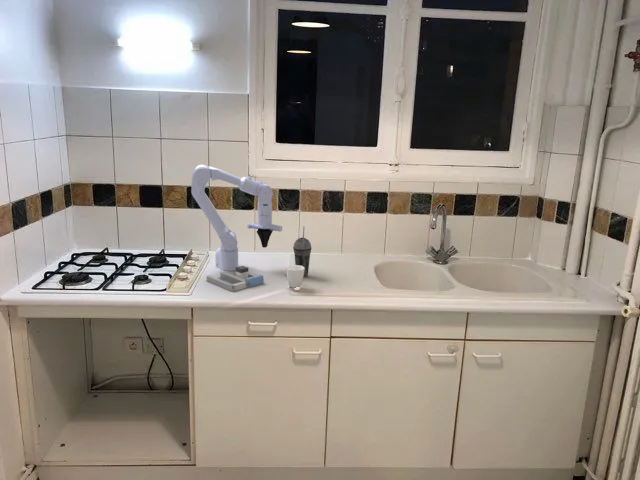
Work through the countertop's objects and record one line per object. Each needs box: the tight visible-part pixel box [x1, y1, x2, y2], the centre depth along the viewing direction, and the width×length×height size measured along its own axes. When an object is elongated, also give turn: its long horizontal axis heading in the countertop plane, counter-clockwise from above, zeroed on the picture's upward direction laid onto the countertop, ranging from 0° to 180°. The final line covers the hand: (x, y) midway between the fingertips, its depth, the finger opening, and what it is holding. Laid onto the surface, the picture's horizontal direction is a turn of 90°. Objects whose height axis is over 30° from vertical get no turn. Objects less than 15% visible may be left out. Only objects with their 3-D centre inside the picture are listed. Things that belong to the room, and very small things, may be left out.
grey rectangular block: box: [236, 265, 249, 279], centre depth 201 cm, size 3×3×5 cm
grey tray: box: [205, 269, 265, 293], centre depth 199 cm, size 16×15×4 cm
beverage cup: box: [292, 226, 312, 278], centre depth 209 cm, size 7×7×20 cm
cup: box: [285, 264, 305, 291], centre depth 198 cm, size 7×10×8 cm
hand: (264, 246), depth 217 cm, fingers closed
